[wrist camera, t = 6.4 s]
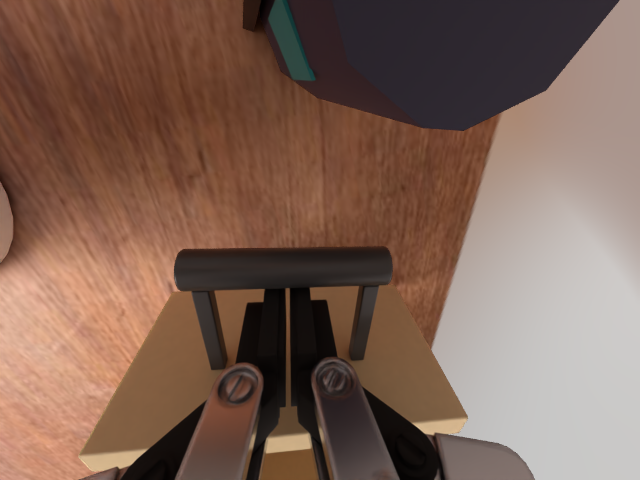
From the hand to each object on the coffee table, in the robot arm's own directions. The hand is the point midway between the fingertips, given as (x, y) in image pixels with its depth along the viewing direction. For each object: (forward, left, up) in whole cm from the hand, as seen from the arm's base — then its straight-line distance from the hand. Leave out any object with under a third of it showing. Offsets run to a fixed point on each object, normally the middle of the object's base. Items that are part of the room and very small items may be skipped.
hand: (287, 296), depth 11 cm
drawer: (+5, -5, -4) cm, 9 cm away
